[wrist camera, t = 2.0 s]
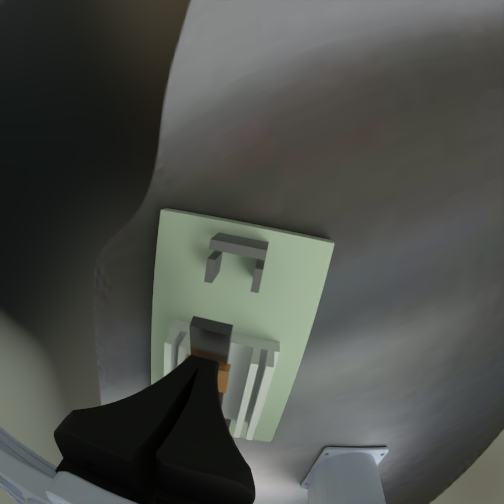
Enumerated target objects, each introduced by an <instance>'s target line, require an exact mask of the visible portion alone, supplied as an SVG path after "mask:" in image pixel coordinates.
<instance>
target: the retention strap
mask: <svg viewBox="0 0 504 504" xmlns="http://www.w3.org/2000/svg"><path fill="white" fill-rule="evenodd" d="M189 329H190V350H191V354H186V357H185V359H186V358H187V357H188V356H190V355H194V356H198V357H202V358H206V359H210V360H214V361H218V362H219V364H220V365H219V371H218V390H219V398H220V403H221V407H222V405H223V397H224V393H226V390H227V386H228V380H229V373H230V367H231V364H228V360H229V352H230V345H231V338H232V330H233V325H232V324H227V323H222V322H218V321H214V320H209V319H205V318H201V317H197V316H193V318H192V320H191V323H190V325H189Z"/></svg>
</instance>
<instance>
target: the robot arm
mask: <svg viewBox="0 0 504 504" xmlns="http://www.w3.org/2000/svg"><path fill="white" fill-rule="evenodd" d="M219 365H220V364H219V362H218V361H214V360H210V359H206V358H202V357H198V356H194V355H190V356H188V357H187V358H186V359H185V360H184V361H183V362H182V363H181V364H179V365H178V366H177V367H176V368H175V369H173V370H172V371H171V372H169V373H168V374H167V375H165V376H164V377H163V378H161V379H160V380H158V381H157V382H155V383H154V384H152V385H151V386H149V387H147V388H145V389H144V390H142V391H140V392H138V393H136V394H134V395H131V396H129V397H127V398H124V399H122V400H119V401H116V402H113V403H110V404H106V405H102V406H98V407H93V408H87V409H80V410H73V411H72V412H71V413H70V414H69V415H68V416H67V417H66V418H65V419H64V420H63V421H62V422H61V424H60V425H59V426H58V427H57V429H56V430H55V431H54V438H55V441H56V444H57V446H58V448H59V450H60V452H61V454H62V456H63V460H62V461H61V463H60V464H59V466H58V467H56V466H55V465H53V464H51V463H50V462H48V461H47V460H45V459H44V458H42V457H41V456H39V455H37V454H36V453H35V452H33V451H32V450H30V449H29V448H27V447H26V446H24V445H23V444H22V443H20V442H19V441H18V440H16V439H15V438H14V437H12V436H11V435H10V434H9V433H7V432H6V431H5V430H4V429H2V428H1V427H0V488H1V489H2V490H4V491H5V492H6V493H7V494H8V495H9V496H11V497H12V498H13V499H14V500H15V501H17V502H18V503H19V504H253V502H254V500H255V485H254V480H253V476H252V473H251V469H250V467H249V465H248V464H247V463H246V461H245V460H244V458H243V456H242V455H241V453H240V452H239V450H238V448H237V446H236V444H235V442H234V440H233V438H232V436H231V434H230V432H229V429H228V427H227V424H226V421H225V418H224V415H223V411H222V407H221V403H220V398H219V390H218V371H219ZM388 451H389V450H388V448H387V447H379V448H342V447H326V448H324V449H323V451H322V453H321V454H320V456H319V458H318V459H317V461H316V462H315V464H314V465H313V467H312V469H311V470H310V472H309V473H308V475H307V476H306V478H305V479H304V481H303V482H302V484H301V485H300V488H302V489H308V504H386V502H385V498H384V494H383V489H382V485H381V481H380V477H379V473H378V469H377V465H378V464H379V462H380V461H381V460H382V459H383V457H384V456H385V455H386V454H387V452H388Z"/></svg>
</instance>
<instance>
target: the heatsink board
mask: <svg viewBox="0 0 504 504" xmlns="http://www.w3.org/2000/svg"><path fill="white" fill-rule="evenodd" d="M333 248H334V242H333V241H332V240H329V239H324V238H320V237H315V236H310V235H305V234H301V233H296V232H291V231H286V230H281V229H276V228H271V227H266V226H261V225H256V224H251V223H246V222H241V221H235V220H230V219H225V218H219V217H214V216H209V215H203V214H198V213H192V212H187V211H181V210H175V209H170V208H166V209H162V210H161V213H160V221H159V230H158V239H157V249H156V260H155V272H154V287H153V304H152V330H151V385H152V384H154V383H155V382H157V381H158V380H160V379H161V378H163V377H164V376H165V375H167V374H168V373H169V372H171V371H172V370H173V369H175V368H176V367H177V366H178V365H179V364H181V363H182V362H183V361H184V360H185V357H186V354H191V350H190V329H189V325H190V323H191V320H192V318H193V316H197V317H201V318H205V319H209V320H214V321H218V322H222V323H227V324H232V325H233V330H232V338H231V345H230V352H229V360H228V364H231V367H230V373H229V380H228V386H227V390H226V393H224V397H223V405H222V411H223V415H224V418H225V421H226V424H227V427H228V429H229V432H230V434H231V436H233V437H235V438H239V437H241V438H246V439H245V440H251V441H252V440H258V441H265V442H272V439H273V437H274V434H275V432H276V429H277V427H278V424H279V421H280V419H281V416H282V414H283V411H284V408H285V405H286V403H287V400H288V397H289V394H290V392H291V389H292V386H293V383H294V380H295V377H296V375H297V372H298V369H299V366H300V363H301V360H302V357H303V354H304V350H305V347H306V344H307V341H308V338H309V335H310V331H311V328H312V325H313V321H314V318H315V315H316V311H317V308H318V304H319V301H320V297H321V294H322V290H323V286H324V283H325V279H326V275H327V271H328V268H329V264H330V260H331V256H332V252H333Z"/></svg>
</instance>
